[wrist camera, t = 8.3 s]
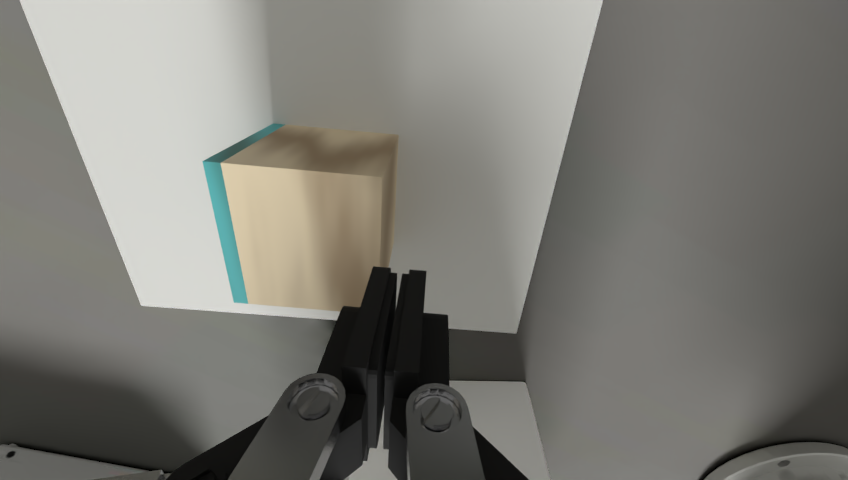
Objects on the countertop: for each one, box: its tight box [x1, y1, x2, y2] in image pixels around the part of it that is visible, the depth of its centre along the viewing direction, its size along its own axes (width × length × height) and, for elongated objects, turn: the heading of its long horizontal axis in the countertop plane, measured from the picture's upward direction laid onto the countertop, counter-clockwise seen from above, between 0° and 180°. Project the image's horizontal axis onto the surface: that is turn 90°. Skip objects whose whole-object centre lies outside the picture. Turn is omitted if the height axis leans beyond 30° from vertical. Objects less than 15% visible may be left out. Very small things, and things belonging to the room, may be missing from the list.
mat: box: [20, 0, 603, 333], centre depth 19 cm, size 24×18×1 cm
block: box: [202, 123, 399, 311], centre depth 16 cm, size 6×6×6 cm
